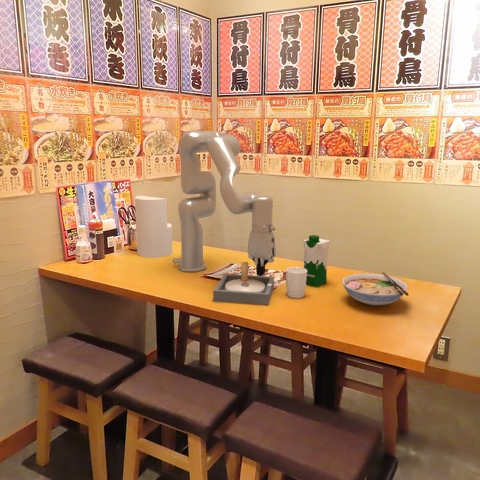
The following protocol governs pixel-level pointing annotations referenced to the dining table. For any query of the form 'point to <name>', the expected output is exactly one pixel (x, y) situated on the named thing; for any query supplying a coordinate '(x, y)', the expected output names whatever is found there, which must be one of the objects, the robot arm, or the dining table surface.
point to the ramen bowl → (374, 288)
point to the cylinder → (152, 227)
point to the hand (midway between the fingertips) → (260, 274)
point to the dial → (245, 282)
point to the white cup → (296, 281)
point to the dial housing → (242, 296)
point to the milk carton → (316, 260)
